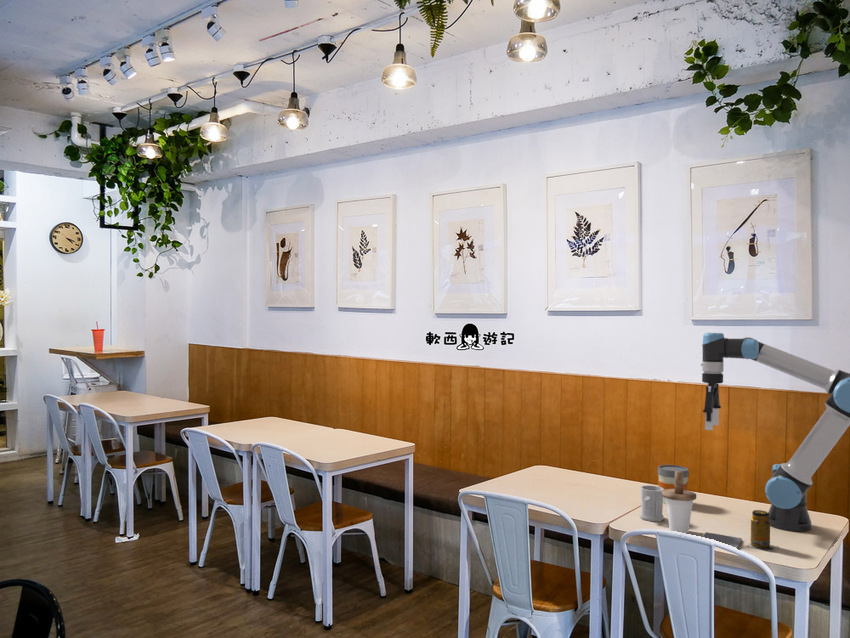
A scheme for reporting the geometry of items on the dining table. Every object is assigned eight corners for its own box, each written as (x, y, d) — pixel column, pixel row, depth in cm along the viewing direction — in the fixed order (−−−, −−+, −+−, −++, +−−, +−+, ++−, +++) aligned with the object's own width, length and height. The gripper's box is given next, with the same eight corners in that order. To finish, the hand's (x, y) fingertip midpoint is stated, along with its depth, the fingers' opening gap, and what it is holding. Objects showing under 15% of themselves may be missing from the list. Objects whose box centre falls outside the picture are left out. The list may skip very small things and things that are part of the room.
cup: (668, 523, 259) (668, 492, 259) (644, 523, 259) (645, 492, 259) (658, 515, 269) (659, 485, 269) (636, 514, 269) (636, 485, 269)
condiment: (753, 541, 239) (753, 507, 239) (779, 547, 233) (779, 512, 233) (746, 546, 234) (746, 512, 234) (772, 552, 228) (773, 517, 228)
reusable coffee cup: (682, 499, 293) (683, 464, 293) (692, 507, 280) (693, 471, 280) (653, 498, 293) (653, 464, 293) (662, 507, 281) (662, 471, 281)
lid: (698, 495, 251) (699, 471, 251) (693, 502, 241) (693, 477, 241) (665, 490, 257) (665, 466, 257) (658, 497, 247) (658, 473, 247)
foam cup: (694, 536, 244) (695, 500, 244) (667, 534, 246) (668, 499, 245) (689, 528, 253) (690, 493, 253) (663, 526, 255) (664, 492, 255)
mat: (741, 540, 240) (741, 538, 240) (737, 550, 230) (737, 548, 230) (705, 534, 246) (705, 532, 246) (699, 543, 236) (699, 541, 236)
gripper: (707, 369, 273) (707, 422, 273) (696, 374, 252) (695, 430, 252) (727, 370, 269) (727, 423, 269) (718, 375, 248) (717, 433, 248)
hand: (711, 427), depth 261 cm, fingers open, 13 cm apart
